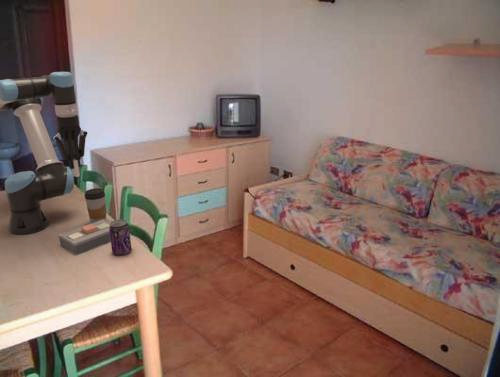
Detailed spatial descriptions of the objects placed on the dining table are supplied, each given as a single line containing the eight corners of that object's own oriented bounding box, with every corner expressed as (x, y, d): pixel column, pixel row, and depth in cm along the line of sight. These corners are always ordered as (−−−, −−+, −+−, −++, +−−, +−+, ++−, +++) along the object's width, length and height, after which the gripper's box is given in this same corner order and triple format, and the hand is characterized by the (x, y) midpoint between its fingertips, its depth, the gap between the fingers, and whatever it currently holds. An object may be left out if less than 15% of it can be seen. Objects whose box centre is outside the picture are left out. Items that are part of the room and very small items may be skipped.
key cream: (68, 243, 170) (67, 235, 169) (79, 239, 173) (78, 232, 172) (74, 246, 167) (73, 239, 166) (85, 242, 171) (84, 235, 170)
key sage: (96, 232, 178) (95, 226, 177) (105, 229, 181) (104, 222, 180) (101, 236, 176) (100, 229, 175) (111, 232, 179) (110, 225, 178)
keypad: (60, 245, 172) (59, 234, 171) (104, 229, 185) (103, 219, 184) (76, 255, 165) (74, 243, 163) (120, 237, 178) (119, 227, 176)
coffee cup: (102, 228, 186) (98, 195, 181) (84, 227, 188) (79, 194, 183) (112, 220, 194) (108, 188, 189) (95, 219, 196) (90, 187, 190)
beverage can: (121, 258, 162) (117, 228, 158) (108, 253, 165) (104, 224, 161) (135, 250, 167) (132, 221, 163) (122, 245, 171) (119, 217, 167)
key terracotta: (82, 234, 174) (81, 227, 173) (92, 230, 177) (91, 223, 176) (87, 237, 171) (86, 230, 170) (98, 233, 174) (97, 226, 173)
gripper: (54, 119, 156) (64, 182, 165) (88, 114, 165) (96, 173, 174) (45, 116, 161) (55, 177, 169) (78, 111, 170) (87, 170, 178)
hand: (76, 175), depth 171 cm, fingers closed
